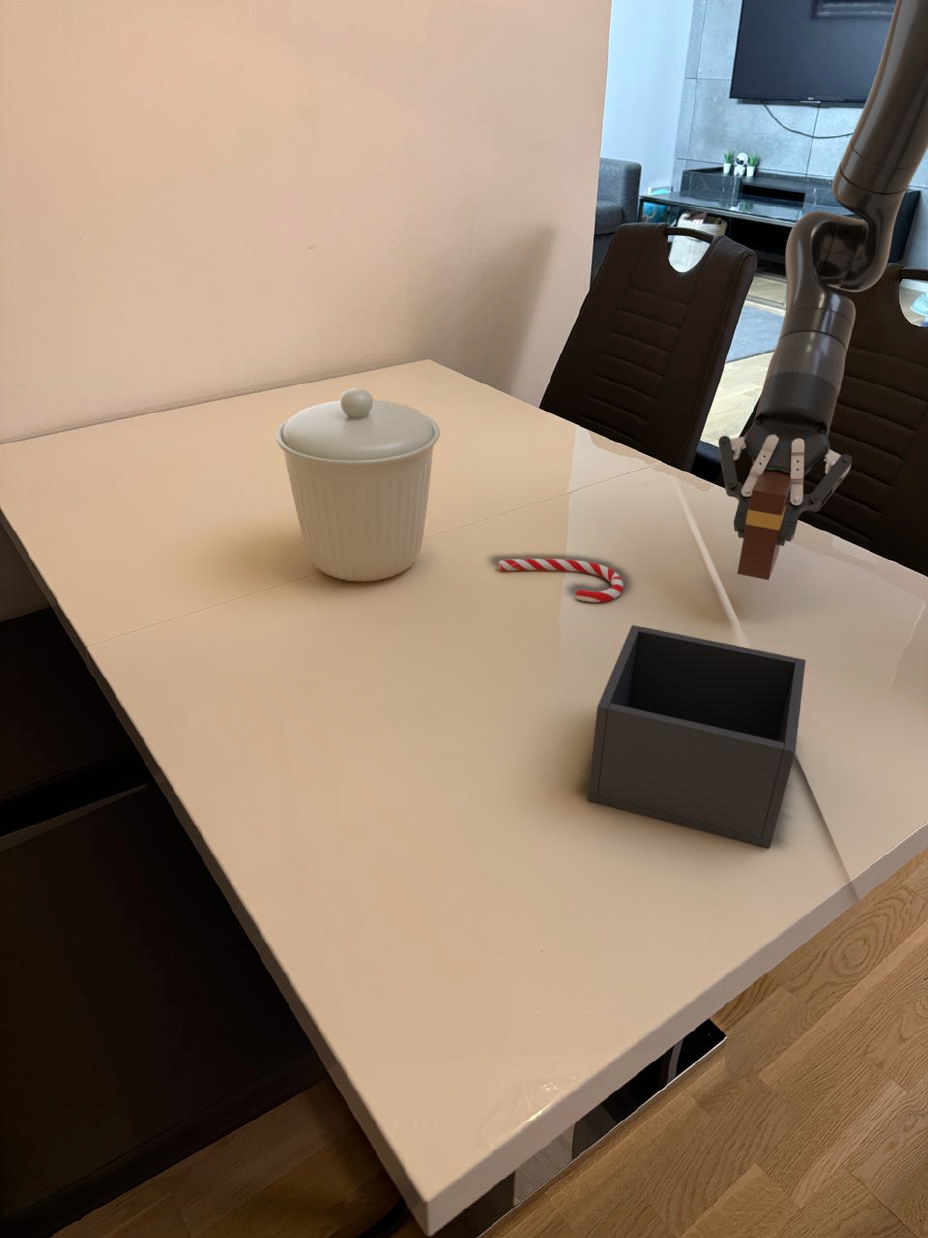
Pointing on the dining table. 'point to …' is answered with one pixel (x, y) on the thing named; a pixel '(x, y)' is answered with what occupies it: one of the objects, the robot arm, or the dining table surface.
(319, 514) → the canister
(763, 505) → the chocolate box
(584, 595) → the candy cane
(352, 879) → the dining table surface
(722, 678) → the waste bin
